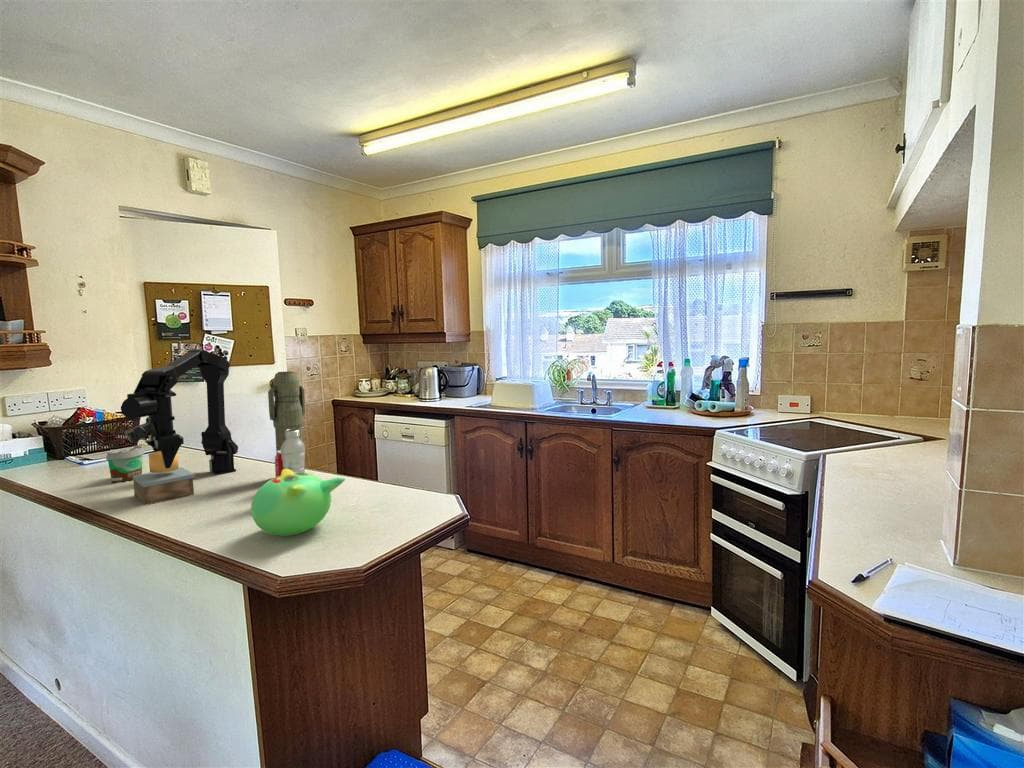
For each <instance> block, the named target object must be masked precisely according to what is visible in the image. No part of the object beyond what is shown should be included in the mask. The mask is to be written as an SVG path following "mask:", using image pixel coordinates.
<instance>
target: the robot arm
mask: <svg viewBox="0 0 1024 768" xmlns="http://www.w3.org/2000/svg"><path fill="white" fill-rule="evenodd" d="M195 368H197V369H199V372H200V376H201V377H202V379H203V380H204V382H205V384H206V398H207V402H206V403H207V404H206V405H207V427H206V429H204V431H202V432H201V433H200V435H201V441H200V442H201V445H202V447H203V451H204V454H205V455H206V456H210V458H209V460H208V462H209V463H208V464H209V472H210V473H211V474H214V475H221V474H226V473H231V472H232V471H233V472H236V471H237V469H236V468H235V461H234V455H236V454H237V453H238V451H239V446H238V444H237V443H236V442H235V441H234V440H233V439H232V433H231V432H232V431H230V429H229V428H228V427H227V425H226V417H225V416H226V413H225V409H226V407H225V388H224V387H225V385H224V383H225V381H226V380H227V378H228V377H229V373H230V362H229V360H227V358H226V357H225V356H220V355H219V354H215V353H212V352H210V351H208V350H206V349H200V348H199V349H190V350H188V351H187V353H185V354H183V355H182V356H179V357H178V358H175V360H173V361H171V362H169V363H168V364H166V365H163V366H158V367H154V368H151V369H147V370H145V371H144V372H143V373H141V377H140V379H139V381H138V384H137V385H136V387H135V389H134V391H133V393H127V394H126V399H124V400H123V402H122V403H121V406H120V412H121V413H122V415H123V416H124V417H125V418H126V419H128V420H129V419H130V420H135V419H139V418H145V417H146V418H145V422H144V423H142V424H139V425H137V426H134V427H132V428H129V429H126V430H125V431H124V432H123V433H124V434H125V436H126V438H127V439H128V441H129V442H130V443H132V444H134V443H138V442H139V441H141V440H142V441H144V443H146V444H147V445H149V446H151V447H152V450H153V452H158V451H161V454H162V458H163V461H164V465H165V468H170V467H171V465H172V463H173V460H174V458H175V456H176V454H177V452H178V451H179V450H180V447H181V446H182V445H184V444H185V443H184V442H185V441H184V436H182V435H180V434H178V433H176V432H177V431H176V430H175V429H174V421H175V420H176V419H175V417H176V416H175V415H173V408H172V407H173V405H172V403H173V402H172V397H176V396H177V393H176V392H174V391H173V390H171V389H172V388H173V387H175V385H177V384H178V383H179V378H180V377H182V376H183V375H185V374H186V373H188V372H189V371H191V370H193V369H195ZM178 453H179V452H178ZM233 472H232V473H233Z"/></svg>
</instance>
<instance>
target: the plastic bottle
mask: <svg viewBox="0 0 1024 768" xmlns="http://www.w3.org/2000/svg"><path fill="white" fill-rule="evenodd" d="M299 436H300V434H299V429H289V430H286V431H285V437H286V440H285V441H284V443H283V444H282V446H281V456H282V460H283V467H284V469H289V470H291V471H293V472H294V473H306V472H304V459H305V456H306V446H305V443H304V442H303V440H302V441H301V440H300V439H299ZM305 460H306V459H305Z"/></svg>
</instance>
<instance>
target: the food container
mask: <svg viewBox="0 0 1024 768" xmlns="http://www.w3.org/2000/svg"><path fill="white" fill-rule="evenodd" d="M133 447H134V448H131V449H126V450H124V449H123V450H120V451H118V452H109V453H108V452H107V453H106V458H105V460H106V461H108V468H109V473H110V478H111V484H117V483H116V482H122V483H127V482H126V481H129V482H132V481H131V480H133V476H134V475H140V474H143V455H144V454H145V449H144V448H143V446H141V445H134V446H133Z"/></svg>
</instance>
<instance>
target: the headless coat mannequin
mask: <svg viewBox="0 0 1024 768" xmlns="http://www.w3.org/2000/svg"><path fill="white" fill-rule="evenodd" d="M272 380H273V381H272V385H273V386H272V387H270V388H269V390H268V391H267V395H268V397H267V399H268V415H269V420H270V421H273V423H272V424H273V425H272V426H273V428H274V430H275V432H274V433H275V451H276V452H275V453H276V454H277V451H278V450H281V446H282V444H283V443H284V441H285V440H286V437H285V431H286V430H289V429H299V434H300V436H299V439H300V440H301V441H302V442H303V431H302V428H303V425H304V423H303V422H304V419H303V418H304V417H305V414H306V404H305V403H306V402H305V401H306V400H305V388H304V387H303V386H302V385H300V380H299V378H298V375H297V372H294V371H277V373H275V374H274V378H273V379H272ZM305 470H306V459H304V472H305ZM305 473H306V472H305Z"/></svg>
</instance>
